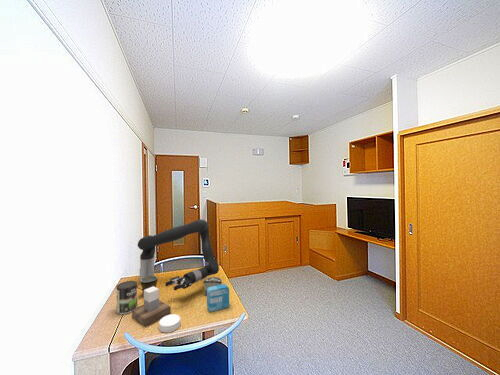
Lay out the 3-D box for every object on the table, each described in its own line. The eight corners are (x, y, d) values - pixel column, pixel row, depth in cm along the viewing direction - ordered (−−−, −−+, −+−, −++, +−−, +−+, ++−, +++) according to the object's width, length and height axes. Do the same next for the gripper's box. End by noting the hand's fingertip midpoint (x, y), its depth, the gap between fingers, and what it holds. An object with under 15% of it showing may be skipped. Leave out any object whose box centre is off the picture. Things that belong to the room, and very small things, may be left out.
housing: (143, 308, 116) (143, 290, 116) (153, 304, 121) (153, 286, 121) (149, 312, 113) (148, 292, 113) (159, 307, 117) (158, 288, 117)
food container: (224, 292, 142) (224, 276, 142) (222, 296, 136) (221, 280, 136) (206, 291, 143) (205, 276, 143) (203, 296, 137) (202, 280, 137)
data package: (208, 312, 119) (208, 290, 119) (206, 308, 123) (206, 287, 123) (229, 307, 124) (229, 286, 124) (226, 303, 128) (226, 283, 128)
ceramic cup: (152, 289, 147) (152, 274, 147) (160, 293, 142) (160, 277, 142) (132, 297, 137) (132, 281, 137) (141, 301, 131) (141, 285, 131)
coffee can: (141, 306, 126) (141, 281, 126) (125, 316, 117) (125, 289, 117) (128, 303, 130) (128, 279, 130) (112, 312, 120) (111, 287, 120)
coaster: (184, 321, 112) (183, 314, 112) (174, 334, 102) (174, 326, 102) (166, 319, 113) (166, 312, 113) (154, 332, 103) (154, 324, 103)
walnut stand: (132, 317, 115) (132, 309, 115) (156, 305, 127) (156, 298, 127) (145, 327, 107) (145, 319, 107) (170, 313, 118) (170, 306, 118)
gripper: (185, 268, 143) (163, 277, 130) (199, 274, 134) (177, 283, 121) (185, 280, 143) (163, 289, 130) (200, 286, 134) (177, 296, 121)
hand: (169, 286), depth 126 cm, fingers open, 8 cm apart
